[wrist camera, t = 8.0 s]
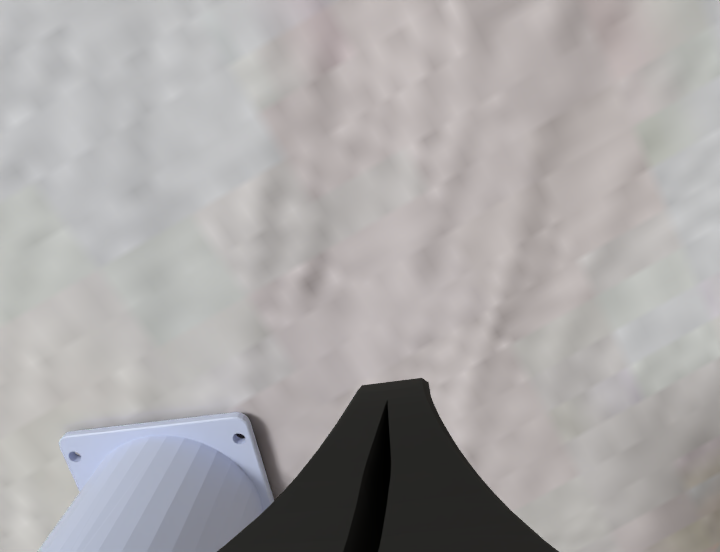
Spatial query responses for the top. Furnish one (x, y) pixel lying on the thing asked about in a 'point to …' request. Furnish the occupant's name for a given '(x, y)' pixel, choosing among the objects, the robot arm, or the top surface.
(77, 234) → the top surface
